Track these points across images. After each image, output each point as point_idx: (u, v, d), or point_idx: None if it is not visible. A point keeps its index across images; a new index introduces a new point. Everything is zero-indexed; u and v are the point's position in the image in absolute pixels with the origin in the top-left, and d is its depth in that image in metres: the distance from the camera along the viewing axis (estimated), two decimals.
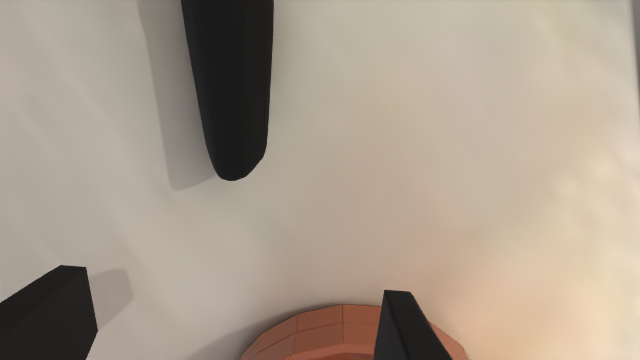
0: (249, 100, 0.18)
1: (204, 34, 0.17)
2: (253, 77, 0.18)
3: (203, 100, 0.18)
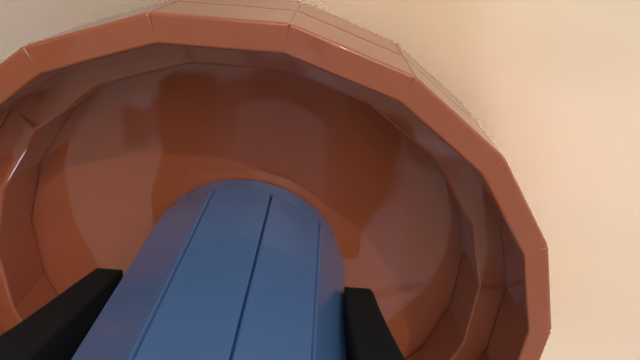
0: None
1: None
2: None
3: None
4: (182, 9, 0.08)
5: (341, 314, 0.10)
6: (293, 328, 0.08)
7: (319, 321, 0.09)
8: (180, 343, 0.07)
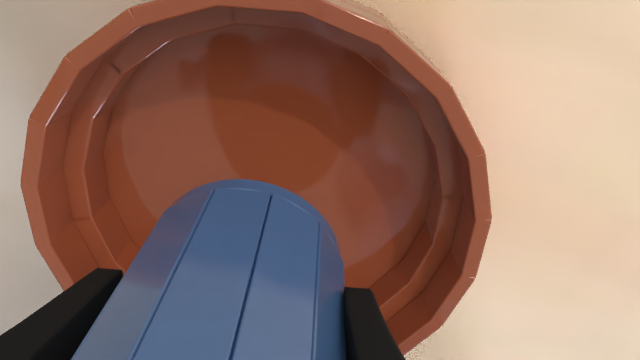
0: None
1: None
2: None
3: None
4: None
5: (341, 313, 0.10)
6: (293, 327, 0.08)
7: (319, 320, 0.09)
8: (180, 342, 0.07)
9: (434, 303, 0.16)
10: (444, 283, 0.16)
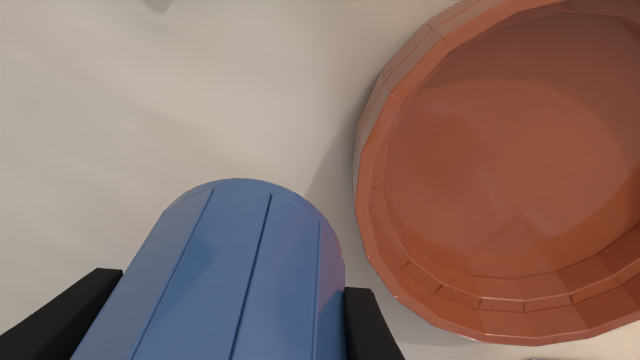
0: None
1: None
2: None
3: None
4: None
5: (341, 312, 0.10)
6: (293, 326, 0.08)
7: (319, 320, 0.09)
8: (180, 341, 0.07)
9: None
10: None
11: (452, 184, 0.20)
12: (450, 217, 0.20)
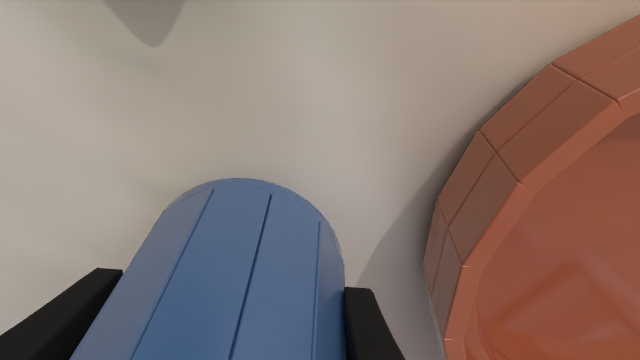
0: None
1: None
2: None
3: None
4: None
5: (341, 312, 0.10)
6: (293, 326, 0.08)
7: (319, 319, 0.09)
8: (179, 341, 0.07)
9: None
10: None
11: (561, 279, 0.14)
12: (553, 320, 0.15)
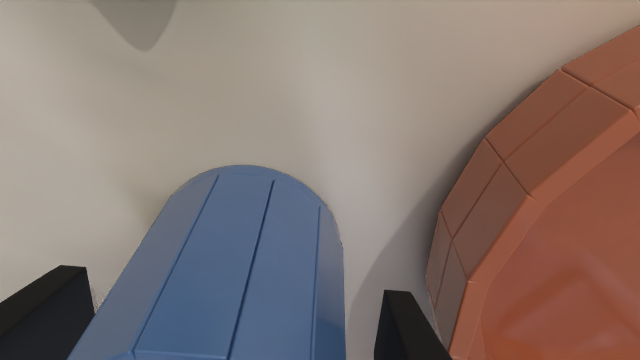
0: None
1: None
2: None
3: None
4: None
5: (340, 290, 0.11)
6: (295, 298, 0.09)
7: (319, 294, 0.10)
8: (190, 307, 0.08)
9: None
10: None
11: (569, 291, 0.14)
12: (560, 332, 0.14)
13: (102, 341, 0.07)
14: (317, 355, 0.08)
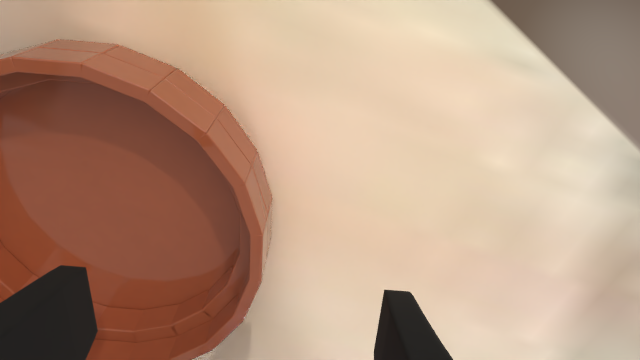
0: None
1: None
2: None
3: None
4: (32, 54, 0.15)
5: None
6: None
7: None
8: None
9: (238, 302, 0.20)
10: (244, 285, 0.19)
11: (53, 224, 0.21)
12: (64, 253, 0.22)
13: None
14: None
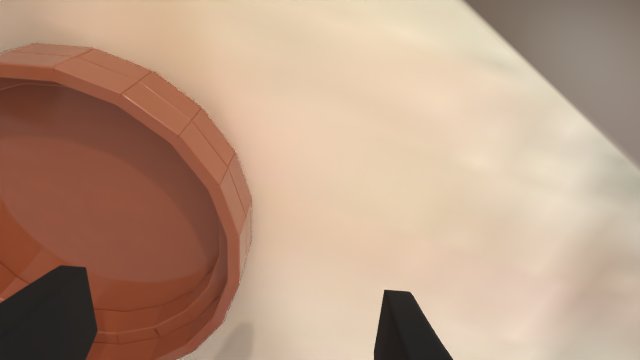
0: None
1: None
2: None
3: None
4: (4, 58, 0.15)
5: None
6: None
7: None
8: None
9: (217, 303, 0.20)
10: (223, 287, 0.20)
11: (35, 227, 0.21)
12: (46, 256, 0.22)
13: None
14: None
